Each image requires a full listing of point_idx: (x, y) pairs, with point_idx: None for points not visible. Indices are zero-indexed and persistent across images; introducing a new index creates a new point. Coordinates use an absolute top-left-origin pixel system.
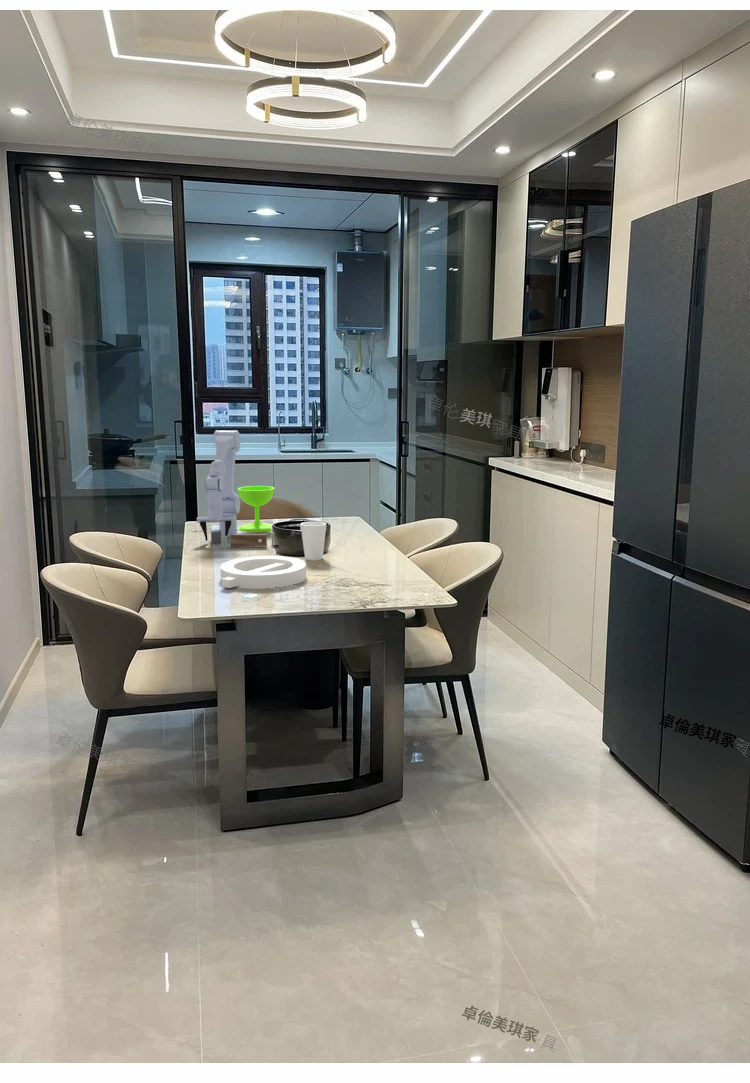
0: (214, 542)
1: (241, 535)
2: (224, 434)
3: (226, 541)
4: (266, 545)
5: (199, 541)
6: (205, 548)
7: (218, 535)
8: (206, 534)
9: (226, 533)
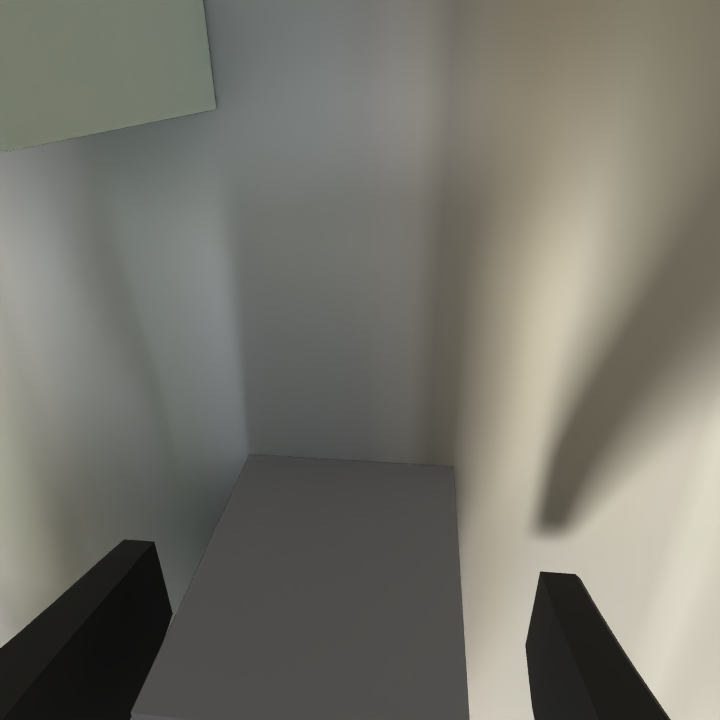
0: (386, 491)
1: None
2: None
3: None
4: None
5: None
6: (677, 21)
7: (253, 616)
8: (605, 709)
9: (23, 658)
